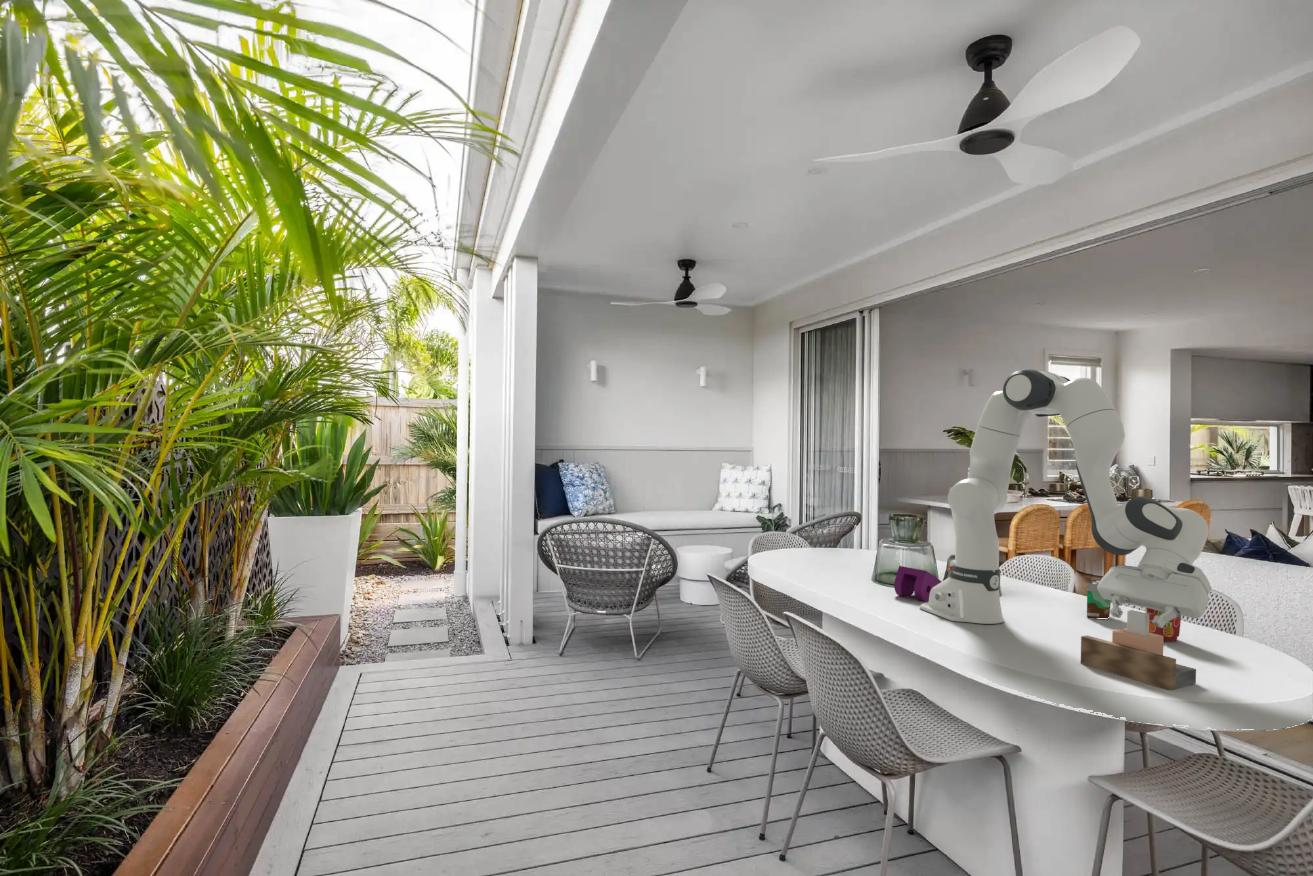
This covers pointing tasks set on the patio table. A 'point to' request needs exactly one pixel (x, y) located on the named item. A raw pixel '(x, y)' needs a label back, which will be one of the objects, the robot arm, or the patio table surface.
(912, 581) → the mounting bracket
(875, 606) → the patio table surface
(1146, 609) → the smoothie
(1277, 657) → the patio table surface
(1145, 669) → the wall board
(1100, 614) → the food container
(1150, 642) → the peach box
